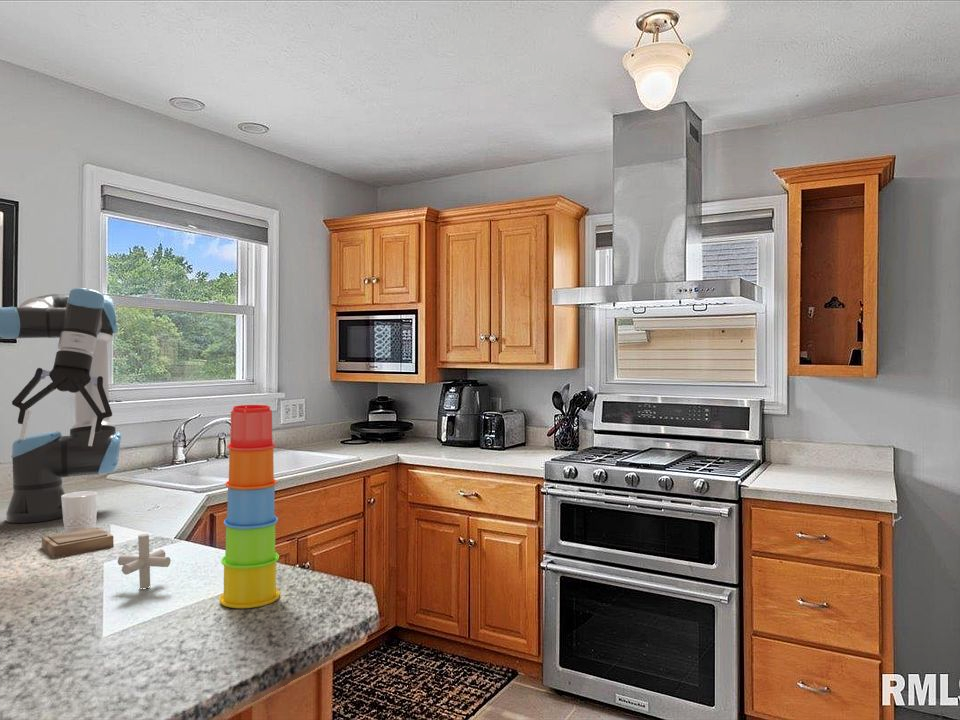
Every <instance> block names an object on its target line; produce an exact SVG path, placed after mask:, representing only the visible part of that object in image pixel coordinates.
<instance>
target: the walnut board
mask: <svg viewBox="0 0 960 720" xmlns="http://www.w3.org/2000/svg"><path fill="white" fill-rule="evenodd" d="M114 545H115V544H114V535H113V534H111V533H109V532H107V531H106V530H104V529H103V528H100V527H99V526H96V528H89V529H83V530H77V531H71V532H66V533H65V532H61V533H56V534H50V535H46V536H45V535H44V536H41V548H42V549H43V550H44V551H46V553H48V554H49V555H51V556H52V557H53V558H55V559H56V558H60V557H64V556H65V557H66V556H70V555H75V554H81V553H85V552H92V551H98V550H102V549H108V548H113V547H114Z"/></svg>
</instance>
